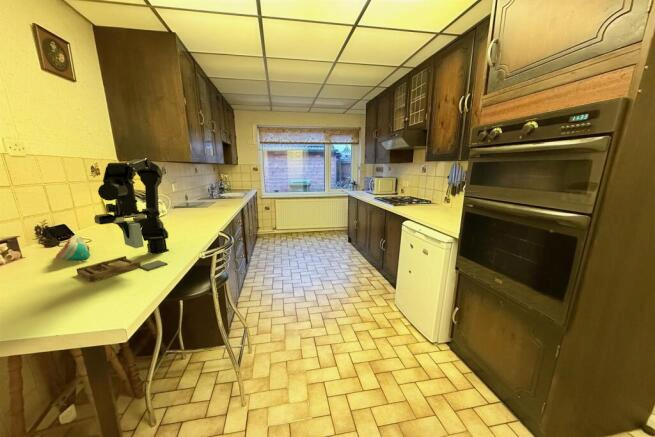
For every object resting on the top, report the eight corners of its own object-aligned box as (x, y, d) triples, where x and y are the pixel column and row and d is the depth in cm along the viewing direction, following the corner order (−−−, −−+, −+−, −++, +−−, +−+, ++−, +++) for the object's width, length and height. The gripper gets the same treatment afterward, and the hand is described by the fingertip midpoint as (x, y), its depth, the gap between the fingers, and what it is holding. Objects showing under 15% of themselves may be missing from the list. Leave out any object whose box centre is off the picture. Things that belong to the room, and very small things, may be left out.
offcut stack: (123, 263, 103) (122, 259, 102) (132, 267, 99) (132, 263, 98) (107, 268, 98) (106, 263, 98) (116, 272, 94) (116, 268, 94)
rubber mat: (158, 261, 105) (158, 260, 105) (167, 264, 101) (167, 263, 101) (139, 267, 99) (139, 265, 99) (148, 270, 95) (148, 269, 95)
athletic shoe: (83, 266, 103) (101, 240, 108) (54, 258, 97) (74, 231, 102) (79, 264, 120) (95, 242, 125) (54, 257, 115) (71, 234, 120)
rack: (126, 261, 105) (125, 256, 105) (140, 267, 99) (139, 261, 99) (77, 274, 92) (76, 268, 92) (90, 282, 86) (89, 275, 86)
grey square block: (133, 242, 100) (129, 220, 98) (143, 246, 95) (139, 223, 93) (125, 244, 97) (121, 222, 96) (135, 248, 93) (131, 225, 91)
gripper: (144, 193, 104) (150, 229, 107) (84, 198, 89) (93, 240, 92) (157, 194, 98) (163, 232, 102) (96, 200, 83) (105, 245, 86)
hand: (133, 237), depth 95 cm, fingers closed on grey square block, 3 cm apart
